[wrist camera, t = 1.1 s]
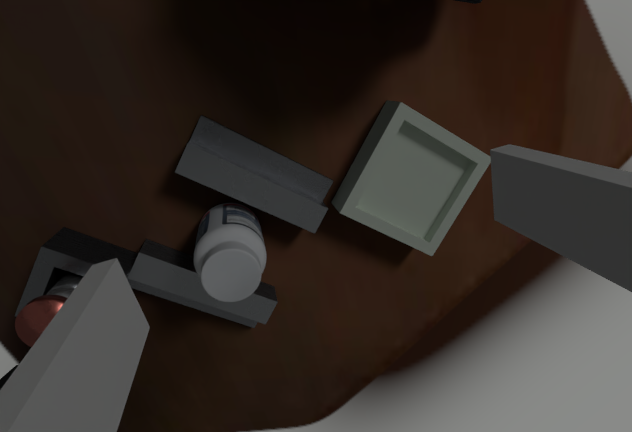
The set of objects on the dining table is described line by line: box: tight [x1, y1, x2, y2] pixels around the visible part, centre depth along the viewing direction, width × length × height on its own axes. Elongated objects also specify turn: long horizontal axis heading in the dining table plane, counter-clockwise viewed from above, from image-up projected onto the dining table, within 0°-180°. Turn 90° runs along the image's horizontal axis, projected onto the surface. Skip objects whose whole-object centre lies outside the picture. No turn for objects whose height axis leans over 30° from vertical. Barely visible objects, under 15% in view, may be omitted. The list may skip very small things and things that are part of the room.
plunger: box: [15, 271, 84, 347], centre depth 28 cm, size 4×4×6 cm
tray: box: [331, 101, 491, 256], centre depth 34 cm, size 10×10×3 cm
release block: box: [15, 227, 138, 317], centre depth 31 cm, size 6×6×4 cm
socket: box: [128, 115, 333, 328], centre depth 33 cm, size 12×16×3 cm
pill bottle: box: [194, 203, 266, 302], centre depth 30 cm, size 5×5×9 cm
